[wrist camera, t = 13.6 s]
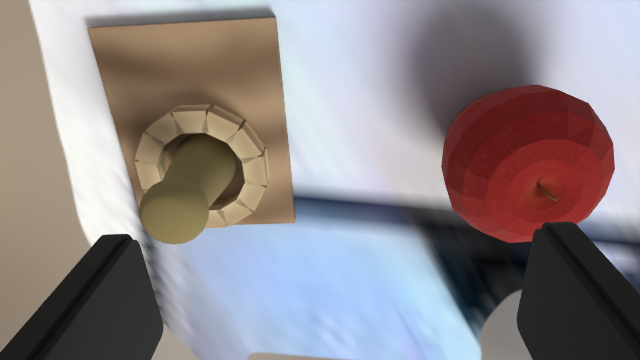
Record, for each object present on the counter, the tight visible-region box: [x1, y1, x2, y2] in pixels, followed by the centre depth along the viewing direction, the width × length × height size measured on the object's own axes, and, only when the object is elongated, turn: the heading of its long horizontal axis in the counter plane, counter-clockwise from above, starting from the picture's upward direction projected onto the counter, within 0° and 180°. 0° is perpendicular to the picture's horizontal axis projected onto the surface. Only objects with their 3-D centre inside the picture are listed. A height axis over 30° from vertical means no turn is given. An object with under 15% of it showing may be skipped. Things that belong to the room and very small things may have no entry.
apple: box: [441, 85, 615, 243], centre depth 34 cm, size 12×12×13 cm
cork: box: [139, 133, 238, 244], centre depth 37 cm, size 6×6×11 cm
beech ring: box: [135, 104, 270, 228], centre depth 41 cm, size 12×12×2 cm
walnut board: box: [88, 17, 296, 225], centre depth 41 cm, size 20×16×1 cm
